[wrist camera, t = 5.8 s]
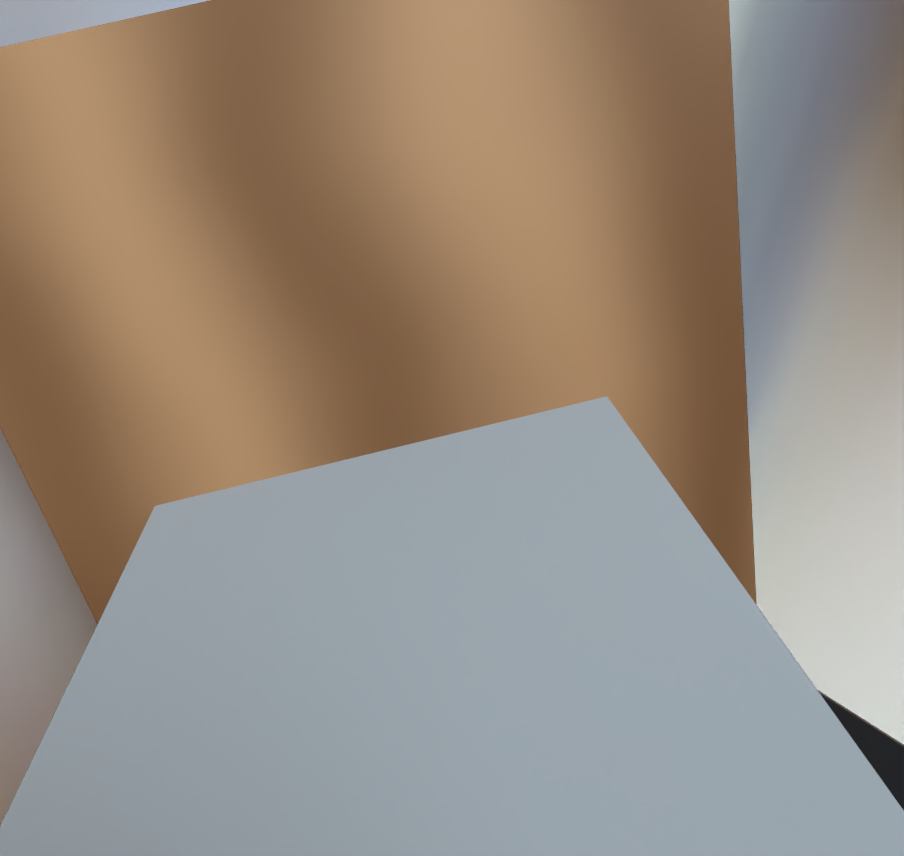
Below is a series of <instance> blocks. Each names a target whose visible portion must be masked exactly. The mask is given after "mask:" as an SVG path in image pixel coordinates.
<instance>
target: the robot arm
mask: <svg viewBox="0 0 904 856" xmlns="http://www.w3.org/2000/svg"><path fill="white" fill-rule="evenodd" d="M818 692H819V693H820V694H821V696H822V697H823V699H824V700H825V701H826V703H827V704H828V706H829V707H830V708H831V710H832V711H833V713H834V714H835V715H836V717H837V718H838V720H839V721H840V722H841V724H842V725H843V727H844V728H845V729H846V731H847V732H848V734H849V735H850V736H851V738H852V739H853V741H854V742H855V743H856V745H857V746H858V748H859V749H860V750H861V752H862V753H863V755H864V756H865V757H866V759H867V760H868V762H869V763H870V764H871V766H872V767H873V768H874V770H875V771H876V773H877V774H878V775H879V777H880V778H881V780H882V781H883V782H884V784H885V785H886V787H887V788H888V789H889V791H890V792H891V794H892V795H893V796H894V798H895V799H896V801H897V802H898V803H899V805H900V806H901V808H902V809H903V810H904V745H903V744H902V743H900V742H899V741H897V740H895V739H894V738H892V737H891V736H889V735H888V734H886V733H884V732H883V731H881V730H880V729H878V728H877V727H875V726H873V725H872V724H870V723H869V722H867V721H866V720H864V719H862V718H861V717H859V716H858V715H856V714H855V713H853V712H851V711H850V710H848V709H847V708H845V707H843V706H842V705H840V704H839V703H837V702H836V701H834V700H832V699H831V698H829V697H828V696H826V695H825V694H823V693H821V692H820V691H818Z"/></svg>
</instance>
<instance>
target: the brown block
mask: <svg viewBox="0 0 904 856" xmlns="http://www.w3.org/2000/svg"><path fill="white" fill-rule="evenodd" d="M606 396H607V397H608V398H609V400H610V401H611V402H612V404H613V405H614V407H615V408H616V409H617V411H618V412H619V414H620V415H621V416H622V418H623V419H624V421H625V422H626V423H627V425H628V426H629V428H630V429H631V430H632V432H633V433H634V435H635V436H636V437H637V439H638V440H639V442H640V443H641V444H642V446H643V447H644V449H645V450H646V451H647V453H648V454H649V455H650V457H651V458H652V460H653V461H654V462H655V464H656V465H657V467H658V468H659V469H660V471H661V472H662V474H663V475H664V476H665V478H666V479H667V481H668V482H669V483H670V485H671V486H672V488H673V489H674V490H675V492H676V493H677V495H678V496H679V497H680V499H681V500H682V502H683V503H684V504H685V506H686V507H687V509H688V510H689V511H690V513H691V514H692V516H693V517H694V518H695V520H696V521H697V523H698V524H699V525H700V527H701V528H702V530H703V531H704V532H705V534H706V535H707V537H708V538H709V539H710V541H711V542H712V544H713V545H714V546H715V548H716V549H717V551H718V552H719V553H720V555H721V556H722V558H723V559H724V560H725V562H726V563H727V564H728V566H729V567H730V569H731V570H732V571H733V573H734V574H735V576H736V577H737V578H738V580H739V581H740V583H741V584H742V585H743V587H744V588H745V590H746V591H747V592H748V594H749V595H750V597H751V598H752V599H753V601H754V602H755V604H756V589H755V567H754V545H753V523H752V502H751V480H750V458H749V436H748V415H747V393H746V371H745V349H744V328H743V306H742V284H741V262H740V241H739V219H738V197H737V175H736V154H735V132H734V110H733V88H732V67H731V45H730V23H729V1H728V0H210V1H206V2H201V3H197V4H192V5H188V6H184V7H179V8H175V9H170V10H166V11H161V12H157V13H152V14H148V15H143V16H139V17H134V18H130V19H125V20H121V21H116V22H112V23H107V24H103V25H99V26H94V27H90V28H85V29H81V30H76V31H72V32H67V33H63V34H58V35H54V36H49V37H45V38H40V39H36V40H31V41H27V42H22V43H18V44H14V45H9V46H5V47H0V428H1V430H2V432H3V434H4V436H5V438H6V440H7V442H8V444H9V446H10V448H11V450H12V452H13V454H14V456H15V458H16V460H17V462H18V464H19V466H20V468H21V470H22V472H23V474H24V476H25V478H26V480H27V482H28V484H29V486H30V488H31V490H32V492H33V494H34V496H35V498H36V500H37V502H38V504H39V506H40V509H41V511H42V513H43V515H44V517H45V519H46V521H47V523H48V525H49V527H50V529H51V531H52V533H53V535H54V537H55V539H56V541H57V543H58V545H59V547H60V549H61V551H62V553H63V555H64V557H65V559H66V561H67V563H68V565H69V567H70V569H71V571H72V573H73V575H74V577H75V579H76V581H77V583H78V585H79V587H80V589H81V591H82V593H83V596H84V598H85V600H86V602H87V604H88V606H89V608H90V610H91V612H92V614H93V616H94V618H95V620H96V622H97V624H98V623H99V621H100V619H101V617H102V614H103V612H104V610H105V608H106V606H107V604H108V602H109V600H110V598H111V596H112V594H113V592H114V590H115V588H116V585H117V583H118V581H119V579H120V577H121V575H122V573H123V571H124V569H125V567H126V565H127V563H128V561H129V558H130V556H131V554H132V552H133V550H134V548H135V546H136V544H137V542H138V540H139V538H140V536H141V534H142V532H143V529H144V527H145V525H146V523H147V521H148V519H149V517H150V515H151V513H152V511H153V509H154V507H155V506H157V505H161V504H165V503H169V502H173V501H177V500H182V499H186V498H190V497H194V496H198V495H202V494H206V493H210V492H215V491H219V490H223V489H227V488H231V487H235V486H239V485H243V484H248V483H252V482H256V481H260V480H264V479H268V478H272V477H276V476H280V475H285V474H289V473H293V472H297V471H301V470H305V469H309V468H313V467H318V466H322V465H326V464H330V463H334V462H338V461H342V460H346V459H351V458H355V457H359V456H363V455H367V454H371V453H375V452H379V451H383V450H388V449H392V448H396V447H400V446H404V445H408V444H412V443H416V442H421V441H425V440H429V439H433V438H437V437H441V436H445V435H449V434H453V433H458V432H462V431H466V430H470V429H474V428H478V427H482V426H486V425H491V424H495V423H499V422H503V421H507V420H511V419H515V418H519V417H524V416H528V415H532V414H536V413H540V412H544V411H548V410H552V409H556V408H561V407H565V406H569V405H573V404H577V403H581V402H585V401H589V400H594V399H598V398H602V397H606Z"/></svg>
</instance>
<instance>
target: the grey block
mask: <svg viewBox="0 0 904 856" xmlns="http://www.w3.org/2000/svg"><path fill="white" fill-rule="evenodd" d="M0 856H904V810H903V809H902V808H901V806H900V805H899V803H898V802H897V801H896V799H895V798H894V796H893V795H892V794H891V792H890V791H889V789H888V788H887V787H886V785H885V784H884V782H883V781H882V780H881V778H880V777H879V775H878V774H877V773H876V771H875V770H874V768H873V767H872V766H871V764H870V763H869V762H868V760H867V759H866V757H865V756H864V755H863V753H862V752H861V750H860V749H859V748H858V746H857V745H856V743H855V742H854V741H853V739H852V738H851V736H850V735H849V734H848V732H847V731H846V729H845V728H844V727H843V725H842V724H841V722H840V721H839V720H838V718H837V717H836V715H835V714H834V713H833V711H832V710H831V708H830V707H829V706H828V704H827V703H826V701H825V700H824V699H823V697H822V696H821V694H820V693H819V692H818V690H817V689H816V687H815V686H814V685H813V683H812V682H811V680H810V679H809V678H808V676H807V675H806V673H805V672H804V671H803V669H802V668H801V666H800V665H799V664H798V662H797V661H796V660H795V658H794V657H793V655H792V654H791V653H790V651H789V650H788V648H787V647H786V646H785V644H784V643H783V641H782V640H781V639H780V637H779V636H778V634H777V633H776V632H775V630H774V629H773V627H772V626H771V625H770V623H769V622H768V620H767V619H766V618H765V616H764V615H763V613H762V612H761V611H760V609H759V608H758V606H757V605H756V604H755V602H754V601H753V599H752V598H751V597H750V595H749V594H748V592H747V591H746V590H745V588H744V587H743V585H742V584H741V583H740V581H739V580H738V578H737V577H736V576H735V574H734V573H733V571H732V570H731V569H730V567H729V566H728V564H727V563H726V562H725V560H724V559H723V558H722V556H721V555H720V553H719V552H718V551H717V549H716V548H715V546H714V545H713V544H712V542H711V541H710V539H709V538H708V537H707V535H706V534H705V532H704V531H703V530H702V528H701V527H700V525H699V524H698V523H697V521H696V520H695V518H694V517H693V516H692V514H691V513H690V511H689V510H688V509H687V507H686V506H685V504H684V503H683V502H682V500H681V499H680V497H679V496H678V495H677V493H676V492H675V490H674V489H673V488H672V486H671V485H670V483H669V482H668V481H667V479H666V478H665V476H664V475H663V474H662V472H661V471H660V469H659V468H658V467H657V465H656V464H655V462H654V461H653V460H652V458H651V457H650V455H649V454H648V453H647V451H646V450H645V449H644V447H643V446H642V444H641V443H640V442H639V440H638V439H637V437H636V436H635V435H634V433H633V432H632V430H631V429H630V428H629V426H628V425H627V423H626V422H625V421H624V419H623V418H622V416H621V415H620V414H619V412H618V411H617V409H616V408H615V407H614V405H613V404H612V402H611V401H610V400H609V398H608V397H607V396H606V397H602V398H598V399H594V400H589V401H585V402H581V403H577V404H573V405H569V406H565V407H561V408H556V409H552V410H548V411H544V412H540V413H536V414H532V415H528V416H524V417H519V418H515V419H511V420H507V421H503V422H499V423H495V424H491V425H486V426H482V427H478V428H474V429H470V430H466V431H462V432H458V433H453V434H449V435H445V436H441V437H437V438H433V439H429V440H425V441H421V442H416V443H412V444H408V445H404V446H400V447H396V448H392V449H388V450H383V451H379V452H375V453H371V454H367V455H363V456H359V457H355V458H351V459H346V460H342V461H338V462H334V463H330V464H326V465H322V466H318V467H313V468H309V469H305V470H301V471H297V472H293V473H289V474H285V475H280V476H276V477H272V478H268V479H264V480H260V481H256V482H252V483H248V484H243V485H239V486H235V487H231V488H227V489H223V490H219V491H215V492H210V493H206V494H202V495H198V496H194V497H190V498H186V499H182V500H177V501H173V502H169V503H165V504H161V505H157V506H155V507H154V509H153V511H152V513H151V515H150V517H149V519H148V521H147V523H146V525H145V527H144V529H143V532H142V534H141V536H140V538H139V540H138V542H137V544H136V546H135V548H134V550H133V552H132V554H131V556H130V558H129V561H128V563H127V565H126V567H125V569H124V571H123V573H122V575H121V577H120V579H119V581H118V583H117V585H116V588H115V590H114V592H113V594H112V596H111V598H110V600H109V602H108V604H107V606H106V608H105V610H104V612H103V614H102V617H101V619H100V621H99V623H98V625H97V627H96V629H95V631H94V633H93V635H92V637H91V639H90V641H89V644H88V646H87V648H86V650H85V652H84V654H83V656H82V658H81V660H80V662H79V664H78V666H77V668H76V670H75V673H74V675H73V677H72V679H71V681H70V683H69V685H68V687H67V689H66V691H65V693H64V695H63V697H62V700H61V702H60V704H59V706H58V708H57V710H56V712H55V714H54V716H53V718H52V720H51V722H50V724H49V726H48V729H47V731H46V733H45V735H44V737H43V739H42V741H41V743H40V745H39V747H38V749H37V751H36V753H35V756H34V758H33V760H32V762H31V764H30V766H29V768H28V770H27V772H26V774H25V776H24V778H23V780H22V783H21V785H20V787H19V789H18V791H17V793H16V795H15V797H14V799H13V801H12V803H11V805H10V807H9V809H8V812H7V814H6V816H5V818H4V820H3V822H2V824H1V826H0Z"/></svg>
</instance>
